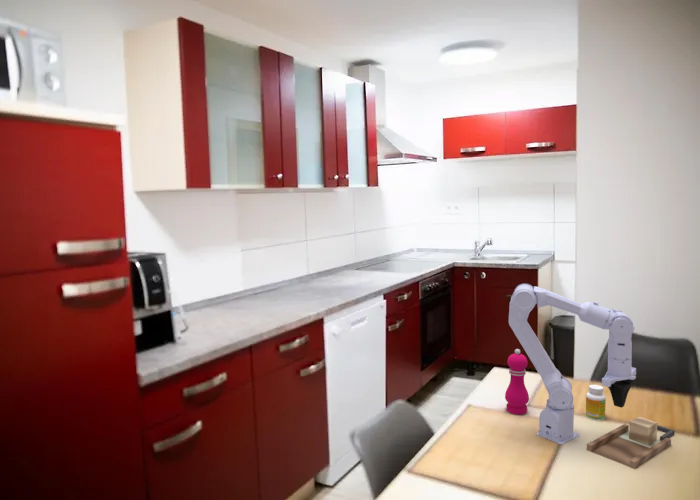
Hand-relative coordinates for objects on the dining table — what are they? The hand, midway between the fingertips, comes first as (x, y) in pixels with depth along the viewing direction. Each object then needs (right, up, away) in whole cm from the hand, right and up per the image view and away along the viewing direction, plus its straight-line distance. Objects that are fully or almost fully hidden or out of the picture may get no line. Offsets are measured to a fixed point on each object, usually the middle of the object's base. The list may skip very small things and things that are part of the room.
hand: (619, 405), depth 144 cm
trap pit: (+13, -10, +6) cm, 17 cm away
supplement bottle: (+2, -9, +17) cm, 20 cm away
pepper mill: (-20, -9, +24) cm, 32 cm away
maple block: (+7, -10, +2) cm, 12 cm away
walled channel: (+1, -11, -3) cm, 11 cm away
